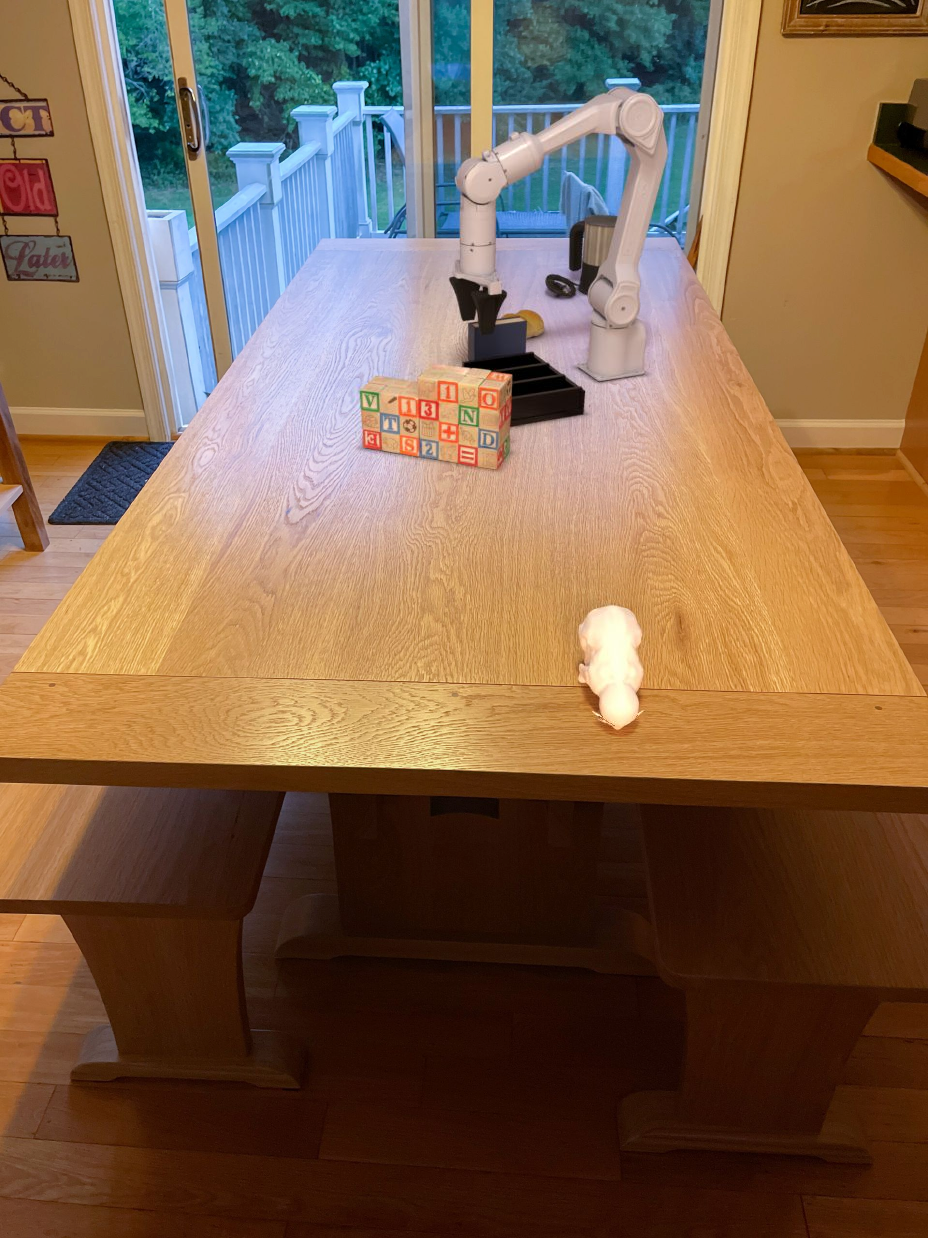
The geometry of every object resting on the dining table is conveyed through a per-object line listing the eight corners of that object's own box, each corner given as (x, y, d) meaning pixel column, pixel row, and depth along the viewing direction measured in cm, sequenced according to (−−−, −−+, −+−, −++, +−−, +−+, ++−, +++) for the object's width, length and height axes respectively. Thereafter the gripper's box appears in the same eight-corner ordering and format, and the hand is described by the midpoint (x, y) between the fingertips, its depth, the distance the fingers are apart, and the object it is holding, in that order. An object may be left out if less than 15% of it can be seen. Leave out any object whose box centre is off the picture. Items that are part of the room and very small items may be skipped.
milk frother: (628, 288, 213) (635, 217, 205) (596, 306, 202) (602, 232, 194) (570, 278, 219) (575, 209, 211) (537, 295, 208) (540, 223, 200)
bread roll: (489, 330, 190) (490, 310, 187) (528, 323, 193) (529, 303, 191) (512, 342, 184) (513, 321, 181) (551, 334, 187) (552, 314, 185)
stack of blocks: (361, 448, 145) (356, 369, 138) (378, 432, 150) (374, 354, 143) (498, 470, 139) (500, 388, 132) (510, 452, 144) (513, 372, 137)
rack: (533, 375, 170) (534, 350, 167) (583, 414, 156) (585, 387, 153) (459, 386, 165) (459, 361, 163) (504, 427, 151) (505, 400, 149)
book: (518, 359, 176) (519, 315, 172) (525, 364, 174) (527, 320, 169) (467, 366, 173) (468, 322, 169) (474, 372, 171) (474, 327, 166)
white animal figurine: (642, 596, 96) (663, 679, 87) (632, 659, 102) (651, 744, 93) (579, 596, 96) (593, 680, 87) (572, 659, 102) (585, 744, 92)
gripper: (437, 233, 158) (438, 316, 166) (472, 255, 147) (472, 343, 155) (476, 229, 160) (476, 311, 168) (514, 250, 149) (512, 337, 157)
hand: (477, 326), depth 161 cm, fingers open, 7 cm apart
